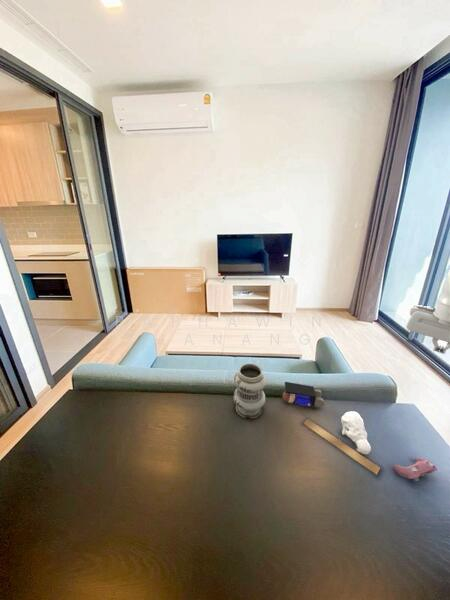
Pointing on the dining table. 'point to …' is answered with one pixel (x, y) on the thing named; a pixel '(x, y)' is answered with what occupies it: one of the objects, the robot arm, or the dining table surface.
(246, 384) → the apothecary jar
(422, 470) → the pink animal figurine
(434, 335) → the robot arm
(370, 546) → the dining table surface
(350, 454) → the brass ruler
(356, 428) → the white sculpture
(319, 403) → the dark block with discs
